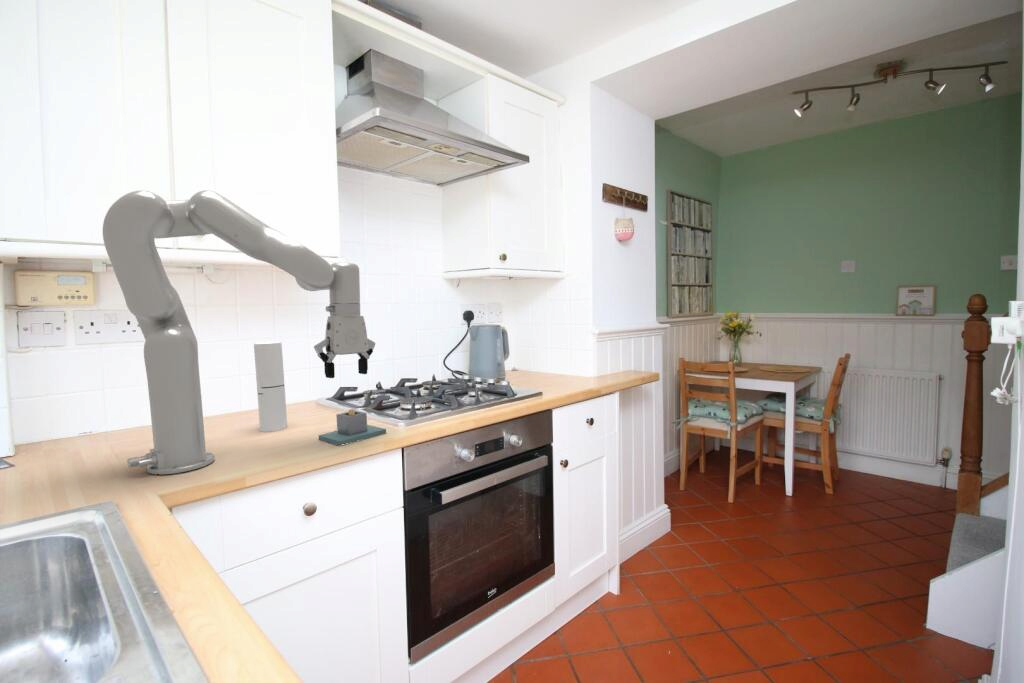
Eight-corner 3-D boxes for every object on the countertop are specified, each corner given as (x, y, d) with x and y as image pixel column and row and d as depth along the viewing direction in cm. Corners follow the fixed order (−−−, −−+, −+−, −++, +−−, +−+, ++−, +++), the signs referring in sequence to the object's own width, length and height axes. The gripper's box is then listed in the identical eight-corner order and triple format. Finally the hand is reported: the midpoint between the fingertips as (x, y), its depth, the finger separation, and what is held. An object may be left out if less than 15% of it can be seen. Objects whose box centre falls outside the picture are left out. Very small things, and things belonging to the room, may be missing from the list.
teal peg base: (339, 446, 121) (338, 417, 121) (318, 439, 128) (316, 412, 127) (386, 433, 132) (384, 407, 132) (364, 428, 139) (363, 403, 138)
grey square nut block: (349, 436, 126) (348, 417, 126) (337, 432, 129) (336, 414, 129) (367, 431, 130) (366, 412, 130) (355, 428, 134) (354, 410, 133)
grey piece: (280, 431, 138) (273, 343, 136) (255, 432, 138) (248, 344, 136) (291, 425, 145) (286, 341, 143) (268, 425, 145) (262, 342, 143)
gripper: (322, 310, 118) (324, 380, 119) (381, 310, 132) (383, 373, 133) (306, 310, 123) (308, 378, 124) (365, 310, 136) (366, 371, 137)
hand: (347, 375), depth 128 cm, fingers open, 9 cm apart
